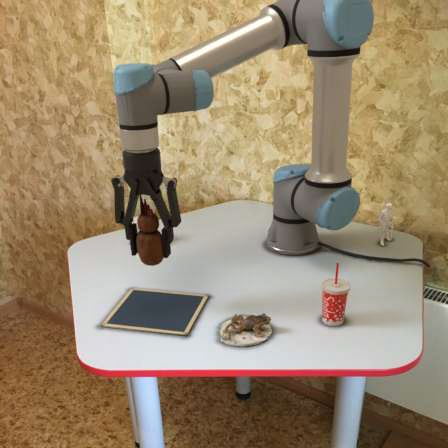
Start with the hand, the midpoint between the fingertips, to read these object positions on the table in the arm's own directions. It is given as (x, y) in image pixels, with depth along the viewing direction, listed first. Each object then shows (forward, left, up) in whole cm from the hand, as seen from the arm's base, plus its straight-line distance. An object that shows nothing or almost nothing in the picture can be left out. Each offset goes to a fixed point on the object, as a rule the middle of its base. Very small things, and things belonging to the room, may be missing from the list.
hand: (151, 254), depth 117 cm
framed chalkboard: (0, 0, -14) cm, 14 cm away
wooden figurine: (0, 0, -2) cm, 2 cm away
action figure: (-52, -50, -15) cm, 74 cm away
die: (+18, -37, -15) cm, 44 cm away
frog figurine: (-22, +5, -15) cm, 27 cm away
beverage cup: (-40, -3, -15) cm, 43 cm away
